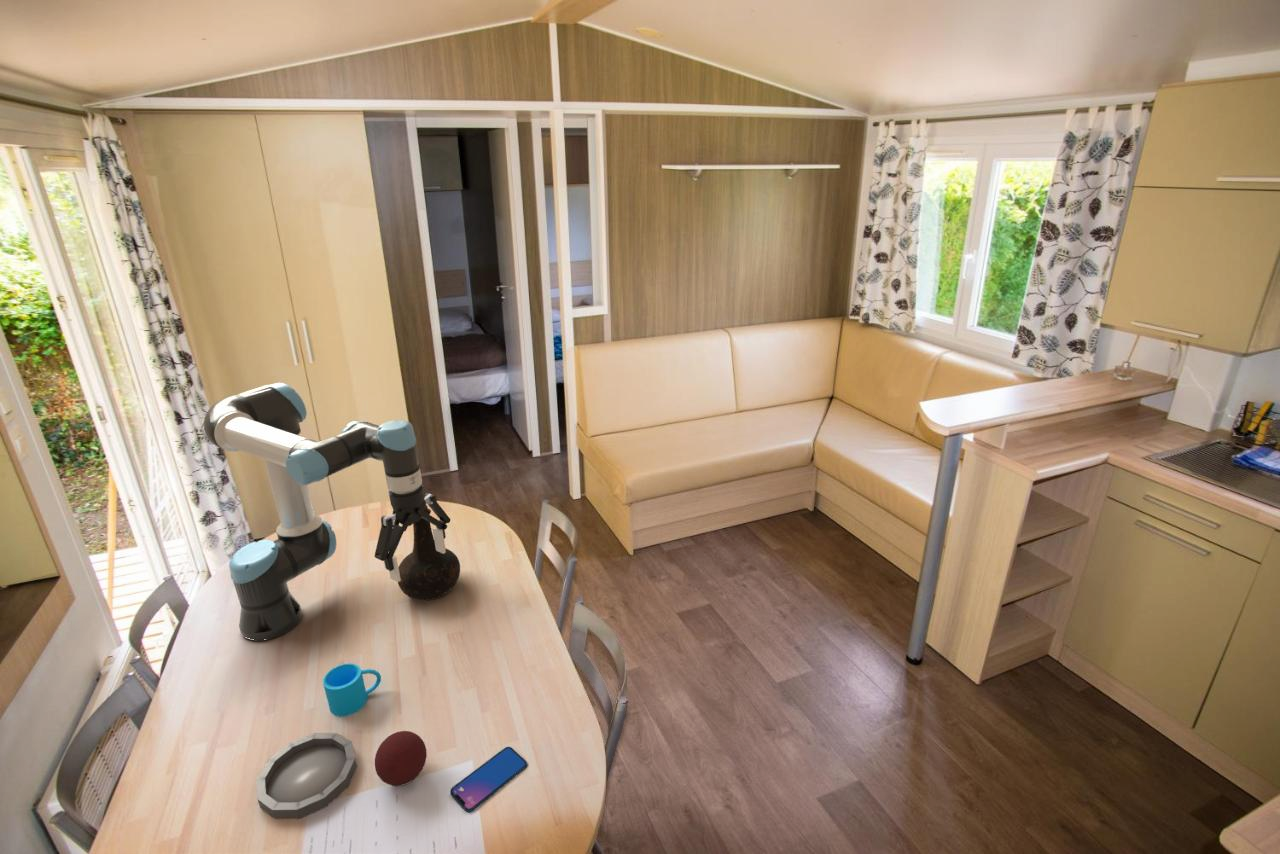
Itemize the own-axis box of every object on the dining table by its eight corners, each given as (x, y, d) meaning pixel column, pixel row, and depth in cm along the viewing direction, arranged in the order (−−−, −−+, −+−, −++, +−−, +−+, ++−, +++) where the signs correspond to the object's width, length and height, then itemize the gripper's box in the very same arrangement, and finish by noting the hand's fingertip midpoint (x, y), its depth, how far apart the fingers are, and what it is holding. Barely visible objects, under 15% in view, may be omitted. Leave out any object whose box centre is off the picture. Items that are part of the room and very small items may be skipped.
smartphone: (529, 764, 135) (468, 813, 125) (529, 767, 136) (468, 816, 126) (508, 744, 140) (447, 790, 130) (508, 747, 140) (448, 793, 130)
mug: (332, 722, 147) (325, 694, 144) (327, 698, 153) (320, 672, 150) (387, 699, 153) (381, 673, 150) (379, 678, 159) (374, 652, 156)
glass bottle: (405, 616, 180) (389, 530, 170) (396, 582, 195) (380, 501, 184) (469, 597, 188) (457, 514, 177) (455, 566, 203) (443, 487, 192)
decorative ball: (380, 804, 128) (371, 768, 124) (377, 764, 136) (369, 729, 132) (432, 786, 131) (425, 750, 127) (426, 748, 140) (420, 713, 136)
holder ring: (240, 793, 130) (237, 784, 129) (319, 729, 145) (317, 721, 144) (296, 834, 122) (293, 825, 121) (374, 762, 137) (372, 754, 136)
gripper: (368, 515, 136) (385, 597, 144) (458, 469, 155) (468, 545, 163) (347, 506, 140) (364, 587, 148) (436, 462, 159) (447, 536, 167)
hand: (419, 565), depth 156 cm, fingers open, 13 cm apart
